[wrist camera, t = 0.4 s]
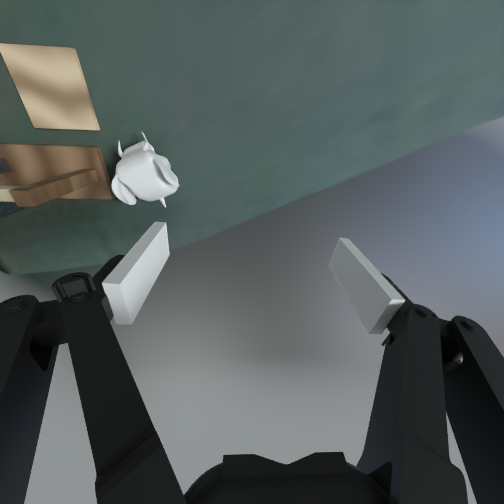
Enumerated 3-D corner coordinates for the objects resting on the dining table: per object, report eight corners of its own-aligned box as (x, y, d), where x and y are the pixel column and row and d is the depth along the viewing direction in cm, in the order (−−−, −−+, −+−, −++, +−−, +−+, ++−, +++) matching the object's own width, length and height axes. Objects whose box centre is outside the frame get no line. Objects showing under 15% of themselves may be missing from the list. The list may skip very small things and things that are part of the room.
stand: (7, 195, 39) (-108, 230, 26) (-24, 142, 35) (-184, 153, 22) (115, 197, 41) (56, 232, 28) (99, 146, 36) (18, 159, 23)
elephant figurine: (160, 123, 35) (138, 123, 27) (194, 190, 41) (184, 205, 33) (112, 144, 36) (78, 150, 28) (152, 206, 42) (133, 224, 35)
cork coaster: (0, 44, 29) (-4, 43, 28) (75, 49, 29) (72, 47, 29) (37, 127, 34) (34, 127, 34) (100, 130, 35) (98, 130, 34)
